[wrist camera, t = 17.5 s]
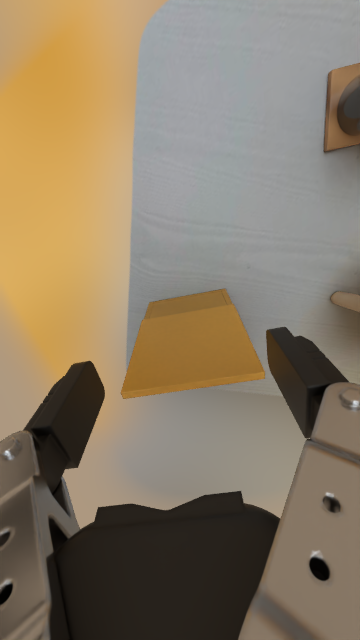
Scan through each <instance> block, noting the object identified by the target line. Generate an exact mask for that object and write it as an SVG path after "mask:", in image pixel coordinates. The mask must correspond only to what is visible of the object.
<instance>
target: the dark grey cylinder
mask: <svg viewBox="0 0 360 640" xmlns="http://www.w3.org/2000/svg"><path fill="white" fill-rule="evenodd" d="M337 120H338V124H339V126H340V128H341V129H342V130H343V131H344V132H345V133H346V134H348V135H351V136H359V135H360V74H359V75H357V76H356V77H355V78H354V79H352V81H351V82H350V83H349V84H348V85H347V86H346V88H345V89H344V91H343V93H342V95H341V97H340V100H339V103H338V107H337Z"/></svg>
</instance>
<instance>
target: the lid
mask: <svg viewBox="0 0 360 640" xmlns="http://www.w3.org/2000/svg"><path fill="white" fill-rule="evenodd" d="M259 379H265V371H264V369H263V367H262V365H261V363H260V360H259V358H258V356H257V354H256V352H255V349H254V347H253V345H252V343H251V341H250V339H249V336H248V334H247V332H246V330H245V328H244V325H243V323H242V321H241V319H240V317H239V315H238V312H237V310H236V308H235V306H234V304H231V305H225V306H220V307H214V308H208V309H202V310H197V311H191V312H185V313H180V314H174V315H168V316H163V317H157V318H151V319H145V320H142V323H141V326H140V329H139V333H138V336H137V340H136V343H135V346H134V350H133V353H132V356H131V360H130V363H129V367H128V370H127V374H126V377H125V380H124V384H123V387H122V390H121V395H122V397H123V399H126V398H134V397H141V396H148V395H155V394H161V393H169V392H175V391H182V390H189V389H196V388H203V387H210V386H217V385H224V384H231V383H238V382H245V381H252V380H259Z"/></svg>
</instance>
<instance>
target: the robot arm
mask: <svg viewBox="0 0 360 640" xmlns="http://www.w3.org/2000/svg"><path fill="white" fill-rule="evenodd" d="M266 339H267V356H268V364H269V368H270V371H271V373H272V375H273V377H274V379H275V381H276V383H277V385H278V387H279V389H280V391H281V392H282V394H283V396H284V398H285V400H286V402H287V404H288V406H289V408H290V410H291V412H292V414H293V416H294V417H295V419H296V421H297V423H298V425H299V427H300V429H301V431H302V433H303V435H304V437H305V438H310V439H307V440H306V442H305V444H304V447H303V450H302V453H301V456H300V459H299V463H298V466H297V469H296V472H295V475H294V478H293V482H292V485H291V488H290V491H289V494H288V497H287V500H286V503H285V507H284V510H283V513H282V516H281V519H280V518H278V517H277V516H275V515H274V514H272V513H270V512H268V511H266V510H264V509H262V508H259V507H256V506H254V505H250V504H245V503H243V498H242V494H241V491H237V492H228V493H219V494H211V495H204V496H201V497H199V498H197V499H194V500H192V501H190V502H187V503H185V504H182V505H180V506H178V507H175V508H173V509H171V510H159V509H155V508H150V507H145V506H141V505H136V504H123V505H115V506H106V507H98V510H97V513H96V517H95V521H94V522H93V523H90V524H89V525H87V526H85V527H84V528H82V529H81V530H80V528H79V525H78V523H77V520H76V517H75V513H74V510H73V506H72V503H71V500H70V496H69V492H68V489H67V486H66V482H65V480H64V478H63V477H62V475H63V473H64V470H65V469H70V468H78V466H79V463H80V460H81V458H82V455H83V453H84V450H85V447H86V445H87V442H88V440H89V437H90V434H91V432H92V429H93V427H94V424H95V421H96V418H97V416H98V414H99V411H100V408H101V406H102V403H103V400H104V397H105V390H104V386H103V384H102V382H101V380H100V378H99V375H98V373H97V371H96V369H95V367H94V364H93V363H92V362H91V361H87V362H81V363H75V364H73V365H72V366H71V367H70V369H69V370H68V372H67V373H66V375H65V376H63V377H62V378H61V379H60V380H59V381H58V382H57V383H56V384H55V385H54V386H53V387H52V389H51V390H50V392H49V393H48V396H46V398H45V399H44V401H43V403H42V404H41V405H40V406H39V408H38V409H37V411H36V412H35V414H34V415H33V417H32V418H31V419H30V421H29V423H28V424H27V425H26V427H25V428H24V430H23V431H19V432H16V433H13V434H12V435H10V436H8V437H6V438H5V439H3V440H2V441H1V442H0V640H360V385H358V384H355V383H350V382H349V381H348V380H347V379H346V378H345V377H344V376H343V375H342V374H341V373H340V371H339V370H338V369H337V368H336V367H335V366H334V365H333V364H332V363H331V362H330V361H329V359H328V358H326V357H325V355H324V354H323V353H322V352H321V351H319V349H318V347H317V346H316V345H315V344H314V343H313V342H312V341H310V340H308V339H306V338H304V337H302V336H297V337H294V336H293V335H292V334H291V333H290V331H289V330H288V329H287V328H286V327H280V328H275V329H269V330H267V331H266Z"/></svg>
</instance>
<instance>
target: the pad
mask: <svg viewBox="0 0 360 640" xmlns="http://www.w3.org/2000/svg"><path fill="white" fill-rule="evenodd" d="M359 74H360V63H357V64H353V65H350V66H346V67H342V68H338V69H334V70H332V71H331V72H329V74H328V89H327V107H326V124H325V142H324V152H326V151H330V150H335V149H339V148H344V147H348V146H352V145H357V144H360V135H359V136H351V135H348V134H346V133H345V132H344V131H343V130H342V129H341V128H340V126H339V124H338V120H337V107H338V103H339V100H340V97H341V95H342V93H343V91H344V89H345V88H346V86H347V85H348V84H349V83H350V82H351V81H352V79H354V78H355V77H356V76H357V75H359Z"/></svg>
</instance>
